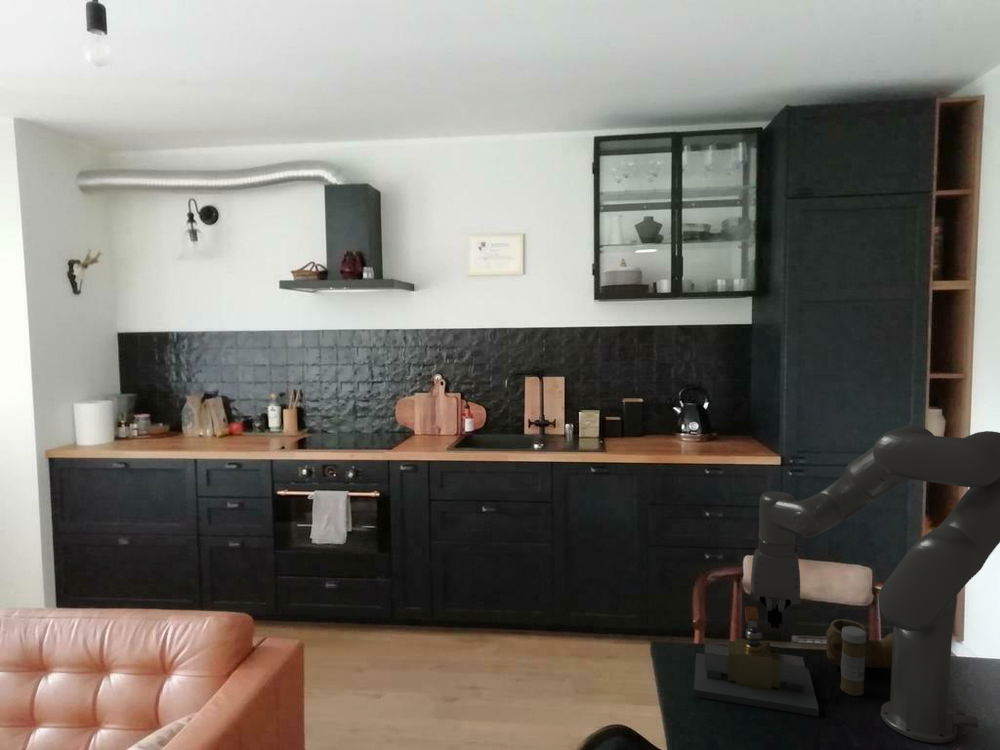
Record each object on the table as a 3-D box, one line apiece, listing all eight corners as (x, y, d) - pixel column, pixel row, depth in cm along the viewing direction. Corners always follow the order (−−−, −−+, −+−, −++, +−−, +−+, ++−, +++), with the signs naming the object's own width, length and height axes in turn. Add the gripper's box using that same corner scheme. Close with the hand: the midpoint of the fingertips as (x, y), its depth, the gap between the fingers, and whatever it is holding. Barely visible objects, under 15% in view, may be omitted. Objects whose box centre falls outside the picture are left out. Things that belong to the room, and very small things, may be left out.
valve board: (808, 675, 147) (808, 668, 147) (818, 716, 132) (818, 709, 132) (696, 659, 155) (696, 653, 155) (693, 696, 140) (693, 689, 140)
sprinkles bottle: (852, 683, 144) (854, 624, 143) (869, 695, 139) (871, 633, 138) (834, 686, 143) (836, 626, 142) (851, 698, 138) (853, 636, 137)
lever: (762, 641, 141) (762, 633, 140) (746, 639, 142) (746, 631, 141) (758, 613, 154) (758, 605, 154) (743, 611, 155) (743, 603, 155)
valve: (801, 677, 144) (802, 636, 143) (805, 695, 137) (806, 651, 136) (704, 663, 150) (705, 623, 149) (704, 679, 143) (704, 638, 142)
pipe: (912, 683, 144) (914, 638, 143) (834, 678, 146) (835, 635, 145) (893, 661, 153) (895, 619, 152) (819, 657, 155) (821, 616, 154)
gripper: (810, 545, 150) (808, 622, 152) (740, 539, 155) (738, 614, 157) (815, 556, 143) (812, 638, 145) (741, 549, 148) (740, 628, 149)
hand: (774, 625), depth 151 cm, fingers closed
